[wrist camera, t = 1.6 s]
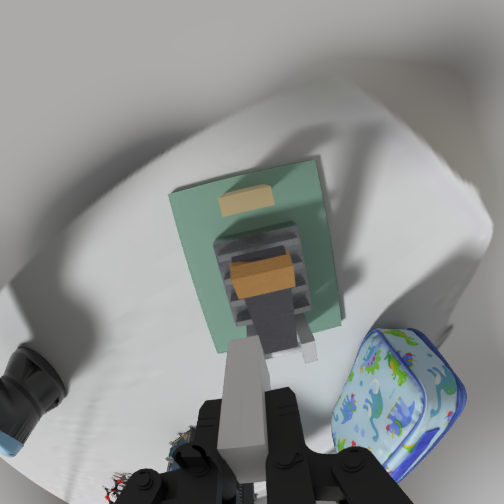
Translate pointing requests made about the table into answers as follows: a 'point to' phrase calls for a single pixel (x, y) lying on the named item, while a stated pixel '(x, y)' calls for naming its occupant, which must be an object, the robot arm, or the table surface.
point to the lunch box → (397, 400)
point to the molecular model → (114, 489)
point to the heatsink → (255, 242)
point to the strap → (268, 295)
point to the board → (252, 217)
